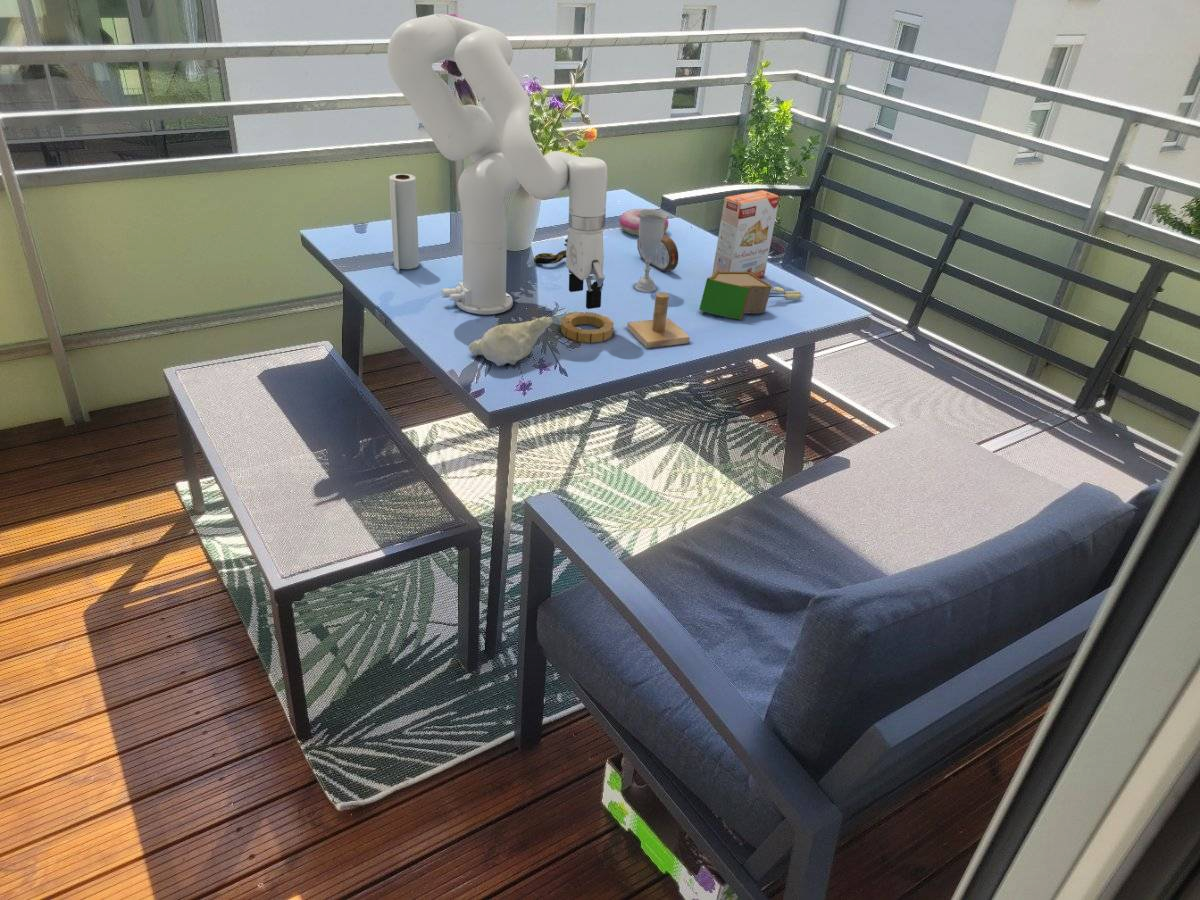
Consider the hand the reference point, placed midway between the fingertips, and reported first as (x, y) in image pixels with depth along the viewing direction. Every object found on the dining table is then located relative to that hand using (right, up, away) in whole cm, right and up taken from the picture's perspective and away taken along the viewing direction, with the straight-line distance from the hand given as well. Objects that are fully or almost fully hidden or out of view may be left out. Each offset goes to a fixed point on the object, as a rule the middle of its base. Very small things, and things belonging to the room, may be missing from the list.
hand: (584, 299), depth 195 cm
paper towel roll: (-44, +12, +24) cm, 51 cm away
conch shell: (-14, -14, -12) cm, 23 cm away
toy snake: (-5, +16, +35) cm, 39 cm away
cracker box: (+38, +10, +32) cm, 51 cm away
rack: (+16, -8, 0) cm, 18 cm away
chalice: (+14, +6, +23) cm, 28 cm away
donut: (+15, +28, +57) cm, 66 cm away
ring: (+1, -7, 0) cm, 7 cm away
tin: (+17, +14, +36) cm, 42 cm away
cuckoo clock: (+39, +1, +18) cm, 43 cm away
